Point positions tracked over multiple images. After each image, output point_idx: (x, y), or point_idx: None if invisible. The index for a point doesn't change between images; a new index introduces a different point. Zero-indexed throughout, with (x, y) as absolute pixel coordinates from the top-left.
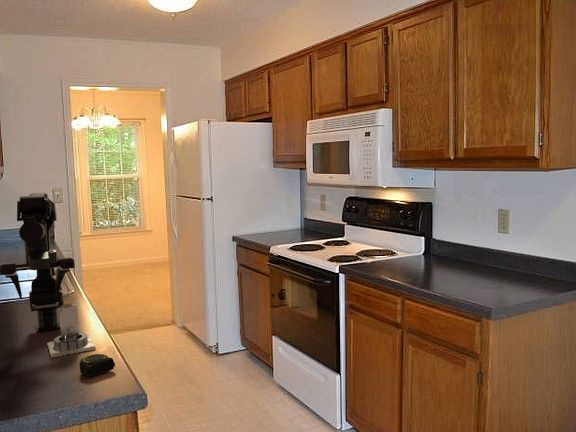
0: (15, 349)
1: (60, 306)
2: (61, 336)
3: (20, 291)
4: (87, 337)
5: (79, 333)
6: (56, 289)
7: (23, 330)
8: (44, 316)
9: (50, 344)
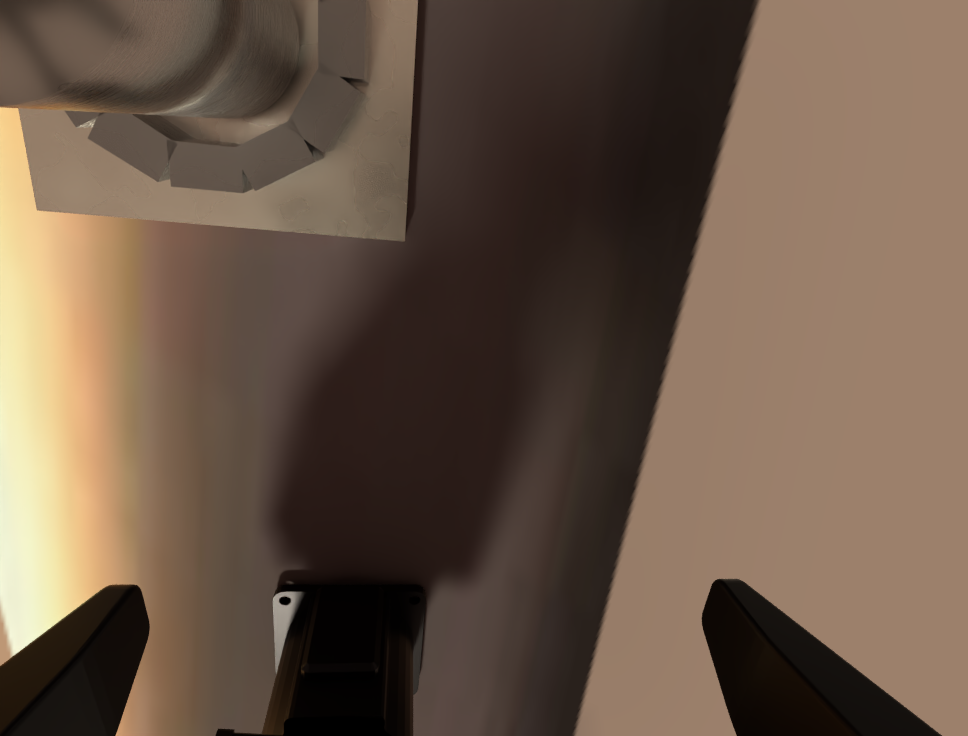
0: (614, 308)
1: (109, 3)
2: (280, 23)
3: (820, 679)
4: (54, 144)
5: (97, 116)
6: (78, 669)
7: (492, 662)
8: (368, 665)
9: (390, 159)
